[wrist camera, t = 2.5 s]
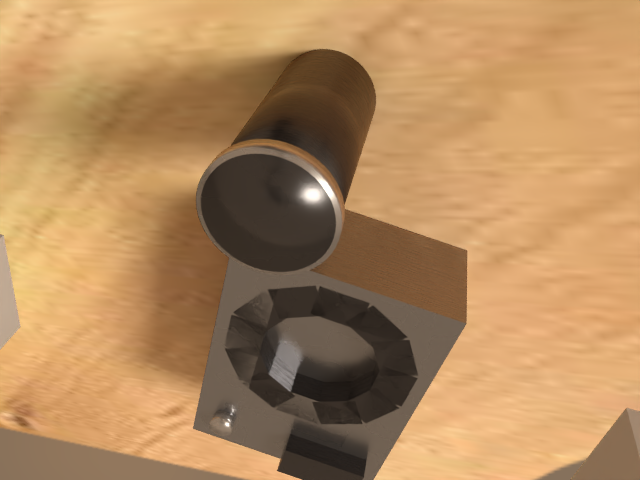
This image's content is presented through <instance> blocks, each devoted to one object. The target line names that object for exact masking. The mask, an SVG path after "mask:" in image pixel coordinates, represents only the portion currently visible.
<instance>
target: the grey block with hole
mask: <svg viewBox="0 0 640 480" xmlns="http://www.w3.org/2000/svg"><path fill="white" fill-rule="evenodd" d="M466 317H467V251H466V250H463V249H460V248H457V247H455V246H452V245H449V244H446V243H443V242H440V241H437V240H434V239H431V238H428V237H425V236H422V235H419V234H416V233H413V232H410V231H407V230H404V229H401V228H398V227H395V226H392V225H389V224H386V223H384V222H381V221H378V220H375V219H372V218H369V217H366V216H363V215H360V214H357V213H354V212H351V211H348V210H345V219H344V225H343V228H342V232H341V235H340V238H339V241H338V243H337V246H336V248H335V249H334V251H333V252H332V254H331V255H330V256H329V257H328V258H327V259H326V260H325V261H324V262H322V263H321V264H320V265H318V266H317V267H315V268H313V269H311V270H308V271H306V272H302V273H299V274H293V275H271V274H265V273H261V272H257V271H254V270H251V269H249V268H246V267H244V266H242V265H240V264H238V263H236V262H235V261H233V260H232V259H230V258H229V261H228V266H227V271H226V276H225V280H224V285H223V290H222V294H221V299H220V304H219V309H218V313H217V318H216V323H215V327H214V332H213V337H212V342H211V346H210V351H209V356H208V360H207V365H206V370H205V375H204V379H203V384H202V389H201V393H200V398H199V403H198V408H197V412H196V417H195V422H194V426H193V429H196V430H198V431H201V432H204V433H207V434H210V435H213V436H216V437H219V438H222V439H225V440H228V441H231V442H233V443H236V444H239V445H242V446H245V447H248V448H251V449H254V450H257V451H260V452H263V453H265V454H268V455H271V456H274V457H277V458H280V459H281V460H280V463H279V466H278V470H277V471H279V472H282V473H285V474H288V475H291V476H293V477H296V478H299V479H302V480H374V478H375V476H376V475H377V473H378V471H379V469H380V468H381V466H382V464H383V463H384V461H385V459H386V458H387V456H388V454H389V453H390V451H391V449H392V448H393V446H394V444H395V443H396V441H397V439H398V438H399V436H400V434H401V433H402V431H403V429H404V428H405V426H406V424H407V422H408V421H409V419H410V417H411V416H412V414H413V412H414V411H415V409H416V407H417V406H418V404H419V402H420V401H421V399H422V397H423V396H424V394H425V392H426V391H427V389H428V387H429V386H430V384H431V382H432V381H433V379H434V377H435V376H436V374H437V372H438V370H439V369H440V367H441V365H442V364H443V362H444V360H445V359H446V357H447V355H448V354H449V352H450V350H451V349H452V347H453V345H454V344H455V342H456V340H457V339H458V337H459V335H460V334H461V332H462V330H463V329H464V327H465V325H466Z"/></svg>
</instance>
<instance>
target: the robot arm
mask: <svg viewBox="0 0 640 480" xmlns="http://www.w3.org/2000/svg"><path fill="white" fill-rule="evenodd" d="M19 328H20V322H19V316H18V311H17V306H16V300H15V295H14V289H13V284H12V278H11V273H10V267H9V262H8V257H7V251H6V246H5V240H4V235H1V234H0V349H1V348H2V347H3V346H4V345H5V344H6V342H7V341H8V340H9V339H10V338H11V337H12V336H13V335H14V333H15V332H16V331H17V330H18V329H19ZM571 480H640V411H636V410H633V409H629V408H626V409H625V410H624V412H623V413H622V414H621V415H620V417H619V418H618V419H617V421H616V422H615V423H614V424H613V426H612V427H611V428H610V430H609V431H608V432H607V433H606V435H605V436H604V437H603V439H602V440H601V441H600V442H599V444H598V445H597V446H596V448H595V449H594V450H593V451H592V453H591V454H590V455H589V457H588V458H587V459H586V460H585V462H584V463H583V464H582V466H581V467H580V468H579V469H578V471H577V472H576V473H575V474H574V476H573V477H572V478H571Z"/></svg>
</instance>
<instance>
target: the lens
mask: <svg viewBox="0 0 640 480" xmlns="http://www.w3.org/2000/svg"><path fill="white" fill-rule="evenodd" d="M375 106H376V94H375V89H374V85H373V83H372V80H371V78H370V76H369V75H368V73H367V72H366V70H365V69H364V68H363V67H362V66H361V65H360V64H359V63H358V62H357V61H356V60H354V59H353V58H352V57H350V56H348V55H346V54H344V53H341V52H338V51H335V50H328V49H319V50H313V51H309V52H306V53H304V54H302V55H300V56H299V57H297V58H296V59H294V60H293V61H292V62H291V63H290V64H289V65H288V67H287V68H286V69H285V71H284V72H283V74H282V75H281V76H280V78H279V79H278V80H277V82H276V83H275V85H274V86H273V87H272V89H271V90H270V92H269V93H268V94H267V96H266V97H265V99H264V100H263V101H262V103H261V104H260V106H259V107H258V108H257V110H256V111H255V113H254V114H253V115H252V117H251V118H250V119H249V121H248V122H247V124H246V125H245V126H244V128H243V129H242V131H241V132H240V133H239V135H238V136H237V138H236V139H235V140H234V142H233V143H232V145H231V146H230V147H228V148H227V149H225V150H224V151H222V152H221V153H220V154H219V155H218V156H217V157H216V158H215V159H214V160H213V161H212V163H211V164H210V165H209V167H208V168H207V169H206V171H205V172H204V174H203V176H202V177H201V179H200V182H199V184H198V188H197V193H196V207H197V212H198V217H199V219H200V222H201V225H202V227H203V229H204V231H205V232H206V234H207V235H208V237H209V238H210V240H211V241H212V242H213V243H214V245H215V246H216V247H217V248H218V249H219V250H220V251H221V252H222V253H224V254H225V255H226V256H228V257H229V258H230V259H232V260H233V261H235V262H236V263H238V264H240V265H242V266H244V267H246V268H249V269H251V270H254V271H257V272H261V273H265V274H271V275H293V274H299V273H302V272H306V271H308V270H311V269H313V268H315V267H317V266H318V265H320V264H321V263H322V262H324V261H325V260H326V259H327V258H328V257H329V256H330V255H331V254H332V252H333V251H334V249H335V248H336V246H337V243H338V241H339V238H340V235H341V232H342V228H343V225H344V219H345V202H346V198H347V195H348V192H349V189H350V186H351V183H352V180H353V177H354V174H355V171H356V168H357V164H358V161H359V158H360V155H361V152H362V149H363V146H364V143H365V140H366V137H367V133H368V130H369V127H370V124H371V121H372V118H373V115H374V111H375Z"/></svg>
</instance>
